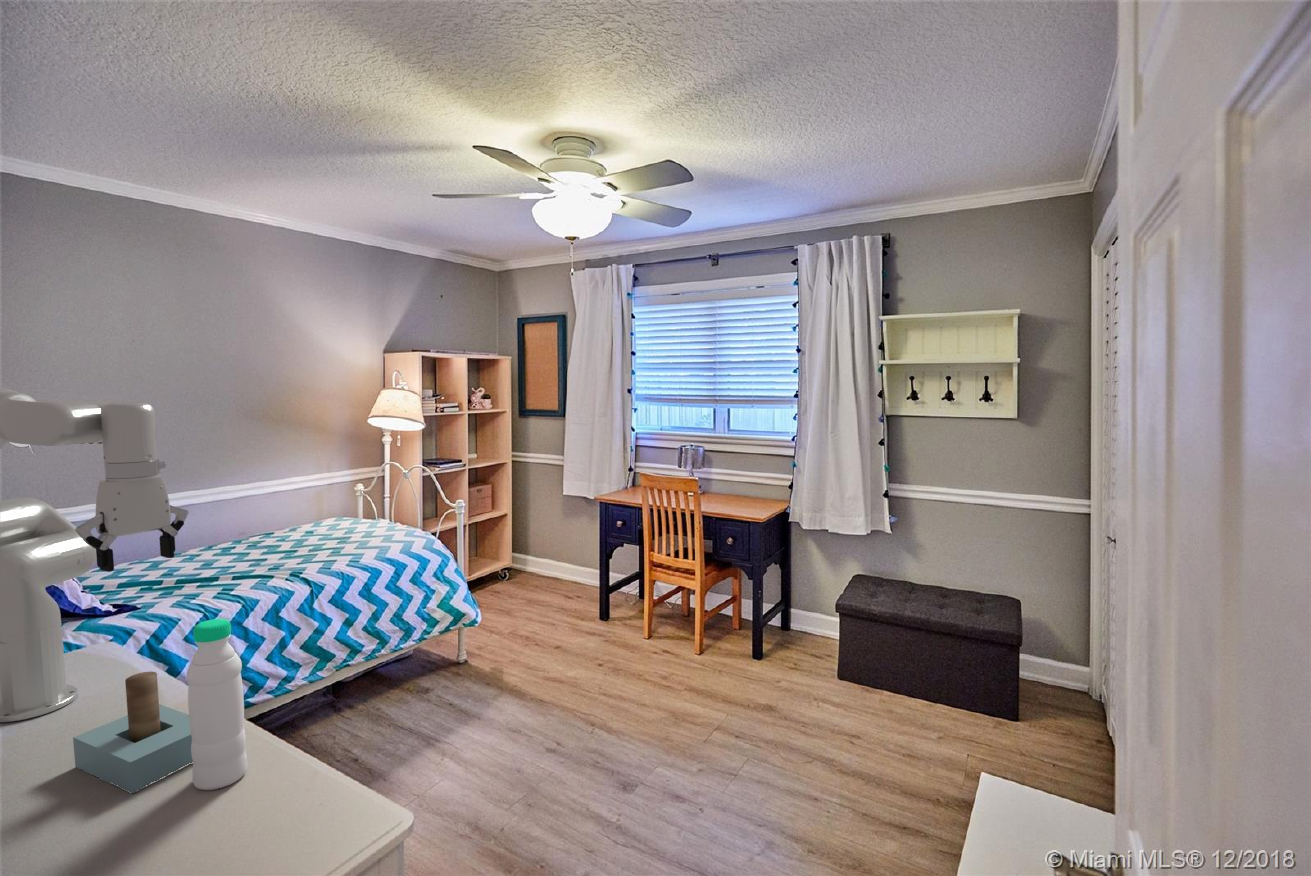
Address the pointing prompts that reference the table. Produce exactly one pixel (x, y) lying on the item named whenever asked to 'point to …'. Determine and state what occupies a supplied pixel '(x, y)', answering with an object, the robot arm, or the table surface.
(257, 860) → the table surface
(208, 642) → the water bottle
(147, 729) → the peg
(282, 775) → the table surface
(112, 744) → the socket block
